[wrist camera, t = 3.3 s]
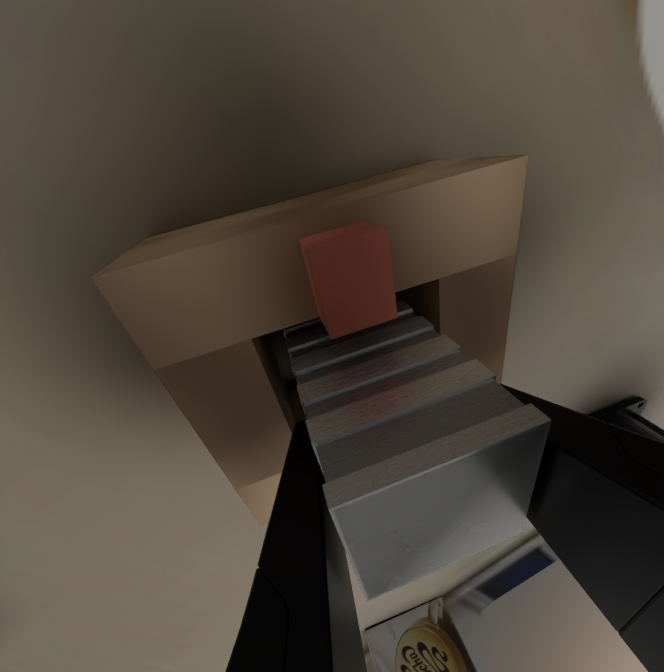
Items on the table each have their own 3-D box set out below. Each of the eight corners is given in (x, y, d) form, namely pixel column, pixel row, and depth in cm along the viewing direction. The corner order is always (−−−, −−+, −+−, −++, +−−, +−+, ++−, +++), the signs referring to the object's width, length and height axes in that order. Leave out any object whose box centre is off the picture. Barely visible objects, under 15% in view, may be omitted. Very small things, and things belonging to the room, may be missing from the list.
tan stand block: (435, 160, 10) (577, 152, 6) (440, 375, 16) (518, 455, 11) (145, 238, 9) (58, 299, 5) (255, 442, 14) (262, 560, 10)
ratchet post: (368, 272, 11) (551, 419, 5) (380, 349, 13) (521, 532, 7) (274, 301, 11) (328, 510, 4) (301, 376, 13) (366, 601, 6)
